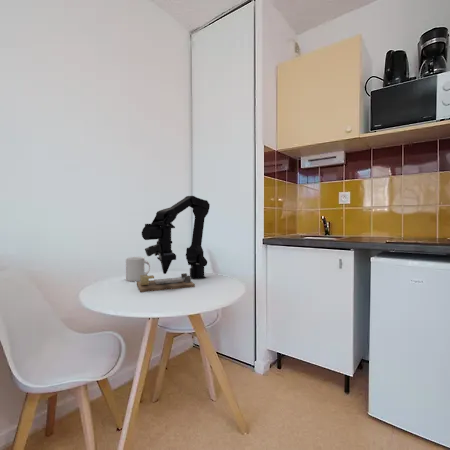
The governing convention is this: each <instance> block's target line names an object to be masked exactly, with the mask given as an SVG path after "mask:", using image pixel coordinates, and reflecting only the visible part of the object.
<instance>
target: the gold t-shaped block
mask: <svg viewBox="0 0 450 450" xmlns="http://www.w3.org/2000/svg"><path fill="white" fill-rule="evenodd" d="M149 279H155V276H154V275H148V274H147V275H140V284H141V285H149V281H150V280H149Z"/></svg>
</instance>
